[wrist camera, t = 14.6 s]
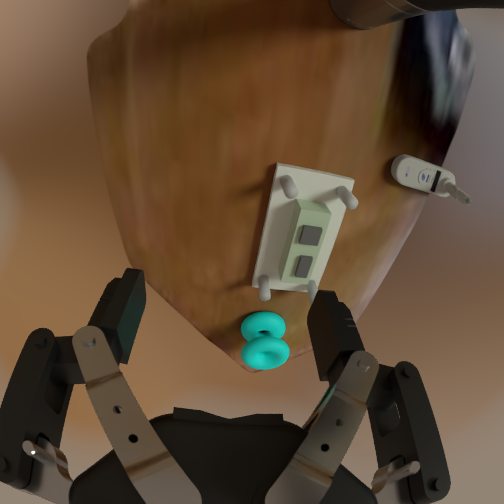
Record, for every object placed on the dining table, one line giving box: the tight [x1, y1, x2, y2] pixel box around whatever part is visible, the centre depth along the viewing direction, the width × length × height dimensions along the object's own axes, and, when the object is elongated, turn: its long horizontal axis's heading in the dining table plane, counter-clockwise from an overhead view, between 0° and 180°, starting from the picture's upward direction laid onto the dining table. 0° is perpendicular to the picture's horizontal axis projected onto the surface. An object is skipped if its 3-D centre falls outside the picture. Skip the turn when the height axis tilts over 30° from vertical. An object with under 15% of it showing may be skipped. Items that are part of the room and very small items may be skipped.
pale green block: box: [278, 198, 332, 285], centre depth 46 cm, size 14×5×5 cm, turn 171°
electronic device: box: [391, 154, 471, 206], centre depth 39 cm, size 5×10×15 cm
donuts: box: [241, 311, 289, 370], centre depth 58 cm, size 10×10×10 cm
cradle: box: [252, 163, 358, 304], centre depth 46 cm, size 24×13×6 cm, turn 171°
